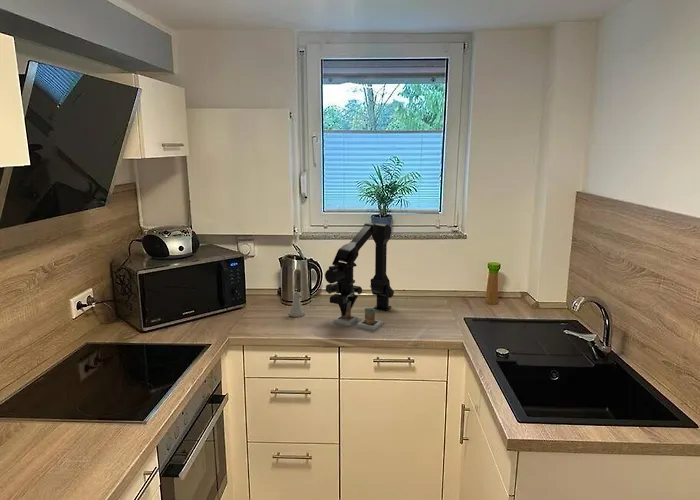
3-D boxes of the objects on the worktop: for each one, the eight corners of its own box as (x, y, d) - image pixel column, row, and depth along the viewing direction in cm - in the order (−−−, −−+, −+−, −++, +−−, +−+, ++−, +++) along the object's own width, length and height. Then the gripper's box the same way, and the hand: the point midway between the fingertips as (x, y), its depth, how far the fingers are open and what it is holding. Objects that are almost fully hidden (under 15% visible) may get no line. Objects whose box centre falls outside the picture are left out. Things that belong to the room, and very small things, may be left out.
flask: (306, 312, 228) (306, 291, 226) (303, 317, 221) (303, 295, 219) (290, 311, 228) (290, 290, 226) (287, 317, 221) (286, 295, 219)
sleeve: (343, 315, 216) (343, 299, 214) (352, 316, 214) (352, 301, 213) (339, 318, 212) (339, 302, 211) (348, 319, 210) (348, 303, 209)
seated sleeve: (367, 323, 211) (367, 307, 210) (376, 325, 210) (376, 308, 208) (362, 326, 208) (363, 310, 206) (372, 328, 206) (372, 312, 204)
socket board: (343, 317, 221) (343, 312, 220) (385, 325, 212) (385, 319, 212) (329, 326, 210) (329, 320, 210) (373, 335, 202) (373, 329, 201)
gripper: (339, 270, 221) (339, 304, 225) (318, 281, 205) (318, 317, 208) (362, 273, 216) (362, 308, 220) (342, 284, 200) (342, 322, 203)
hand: (346, 314), depth 213 cm, fingers closed on sleeve, 4 cm apart
